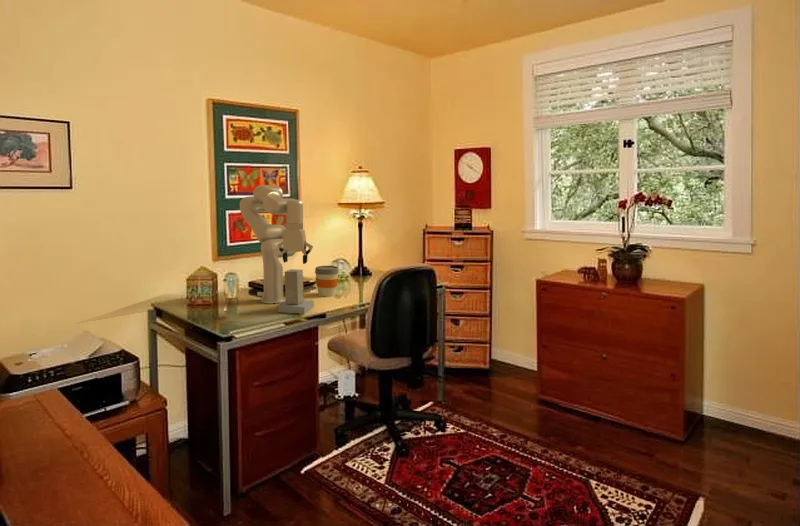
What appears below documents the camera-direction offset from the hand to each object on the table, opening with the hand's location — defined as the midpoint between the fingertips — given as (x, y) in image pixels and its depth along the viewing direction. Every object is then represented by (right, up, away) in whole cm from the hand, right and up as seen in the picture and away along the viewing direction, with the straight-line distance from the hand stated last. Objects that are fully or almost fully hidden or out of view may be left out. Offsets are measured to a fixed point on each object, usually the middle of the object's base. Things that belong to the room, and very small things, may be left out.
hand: (295, 262), depth 256 cm
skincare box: (-1, -19, +3) cm, 20 cm away
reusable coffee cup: (+10, -18, +37) cm, 42 cm away
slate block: (0, -23, +4) cm, 24 cm away
